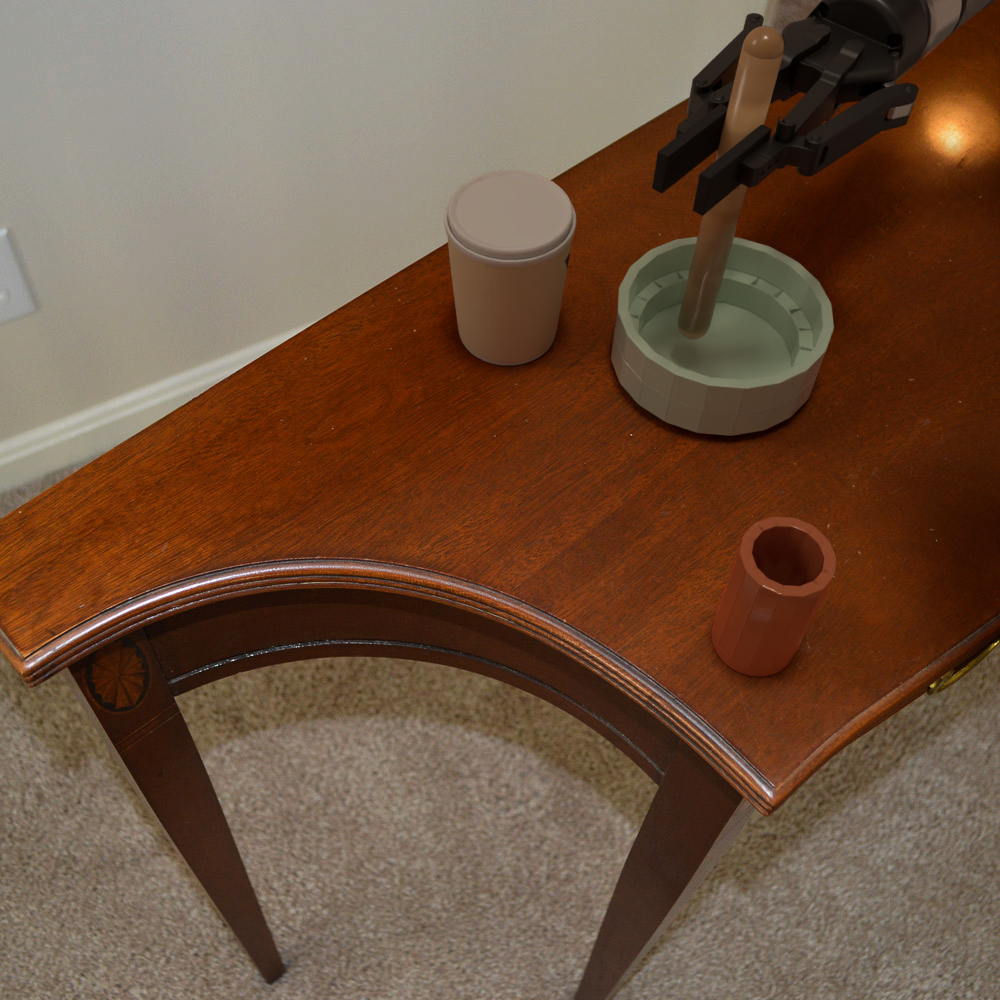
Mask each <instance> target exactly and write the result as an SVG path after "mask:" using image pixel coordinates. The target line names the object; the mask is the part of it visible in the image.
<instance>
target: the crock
mask: <svg viewBox="0 0 1000 1000" xmlns="http://www.w3.org/2000/svg"><path fill="white" fill-rule="evenodd" d="M836 568H837V556H836V553H835V551H834V549H833V546H832V544H831V541H830V540H829V539H828V538H827V537H826V536H825V535H824V534H823V533H822V531H820V530H819V529H818V528H817V527H816V526H814V524H811V523H809V522H806V521H804V520H802V519H799V518H797V517H792V516H791V517H790V516H789V517H788V516H770V517H768V518H765V519H764V518H763V519H761V520H759V521H756V522H754V523H753V524H752V525H751V526H750V528H749V529H748V530H746V532H745V533H744V534H743V535H742V538H741V540H740V542H739V546H738V549H737V552H736V555H735V557H734V560H733V563H732V566H731V569H730V572H729V574H728V578H727V580H726V583H725V586H724V588H723V592H722V595H721V597H720V601H719V603H718V606H717V609H716V612H715V615H714V620H713V623H712V626H711V629H710V630H711V631H710V637H711V643H712V646H713V649H714V651H715V653H716V655H717V656H718V657H719V659H720V660H721V661H722V662H723V663H724V664H725V665H727V667H729V668H730V669H732V670H734V671H735V672H738V673H739V674H742V675H746V676H750V677H755V678H756V677H760V678H762V677H769V676H773V675H774V674H775V675H776V674H778V673H779V672H781V671H782V670H785V668H786V667H788V665H789V664H790V663H791V662H792V660H793V658H794V656H795V654H796V653H797V652H798V650H799V648H800V646H801V644H802V642H803V640H804V638H805V636H806V634H807V632H808V630H809V628H810V626H811V624H812V622H813V620H814V618H815V616H816V614H817V612H818V610H819V608H820V606H821V604H822V602H823V599H824V598H825V596H826V594H827V592H828V590H829V588H830V586H831V584H832V582H833V580H834V578H835V575H836Z"/></svg>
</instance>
